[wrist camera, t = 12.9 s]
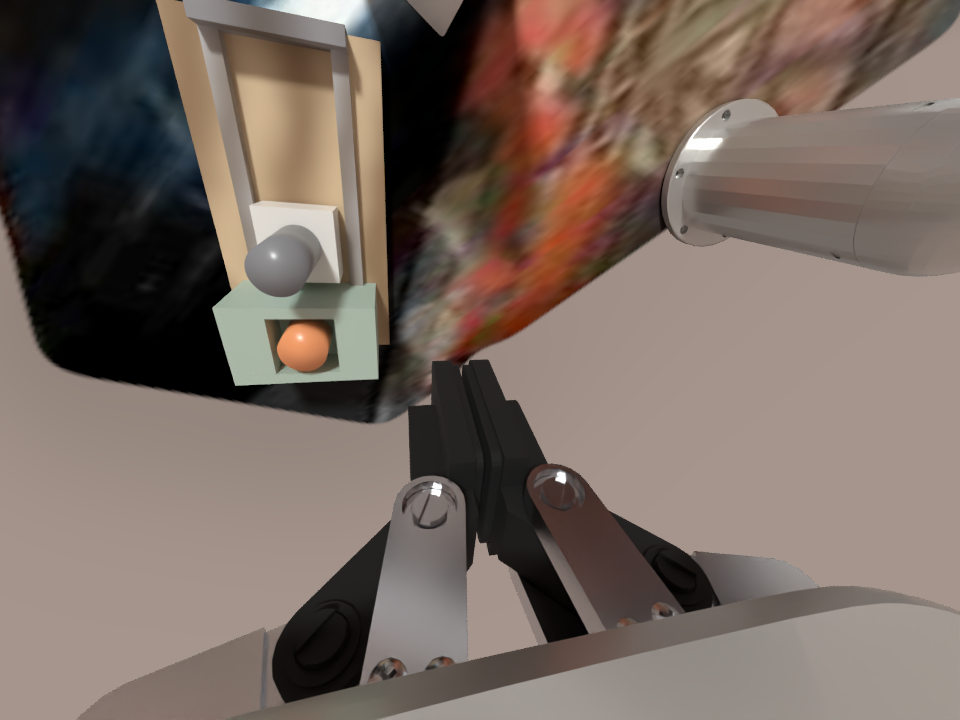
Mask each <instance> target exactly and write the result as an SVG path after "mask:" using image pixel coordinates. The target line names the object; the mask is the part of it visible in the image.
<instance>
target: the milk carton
mask: <svg viewBox="0 0 960 720" xmlns="http://www.w3.org/2000/svg"><path fill="white" fill-rule="evenodd" d="M407 1H408V3H409V4H410V5H411V6H412V7H413V8H414V9H415V10H416V11H417V12H418V13H419V14H420V15H421V16H422V17H423V18H424V19H425V20H426V21H427V22H428V23H429V24H430V26H431V27H432V28H433V29H434V30H435V31H436V32H437V33H438V34H439V35H441V36H444V35H445V33H446V31H447V29H448V28H449V26H450V24H451V22H452V20H453V18H454V16H455V15H456V13H457V11H458V9H459V7H460V5H461V3H462V2H463V0H407Z"/></svg>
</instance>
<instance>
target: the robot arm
mask: <svg viewBox="0 0 960 720" xmlns="http://www.w3.org/2000/svg"><path fill="white" fill-rule="evenodd" d="M661 205H662V215H663V218H664V221H665V225H666V226H667V228H668V230H669V232H670V233H671V234H672V235H673V236H674V237H675V238H676V239H677V240H679V241H681V242H683V243H686V244H690V245H693V246H709V245H714V244H717V243H719V242H722V241H724V240H726V239H728V238H729V237H733V238H738V239H742V240H746V241H750V242H755V243H759V244H763V245H768V246H772V247H776V248H781V249H785V250H790V251H794V252H798V253H803V254H807V255H811V256H816V257H821V258H825V259H829V260H833V261H838V262H842V263H847V264H851V265H856V266H860V267H864V268H868V269H873V270H876V271H881V272H885V273H890V274H896V275H902V276H938V275H945V274H951V273H957V272H960V98H954V99H944V100H935V101H925V102H915V103H905V104H895V105H887V106H876V107H867V108H857V109H847V110H837V111H827V112H817V113H807V114H797V115H788V116H778V115H777V113H776V111H775V110H774V109H773V108H772V107H771V106H770V105H769V104H767V103H765V102H763V101H761V100H758V99H741V100H735V101H731V102H728V103H725V104H722V105H720V106H718V107H717V108H715V109H713V110H712V111H710V112H708V113H707V114H706V115H705V116H704V117H702V118H701V119H700V120H699V121H698V122H697V123H696V124H695V125H694V126H693V127H692V128H691V129H690V131H689V132H688V133H687V134H686V135H685V137H684V138H683V140H682V141H681V143H680V144H679V146H678V147H677V149H676V151H675V153H674V155H673V157H672V159H671V161H670V164H669V166H668V169H667V172H666V175H665V179H664V183H663V188H662V199H661ZM431 400H432V401H431V402H432V403H431V405H422V406H408V415H409V448H410V478H411V482H409V483H408V484H406V485H405V486H404V487H403V488H402V489H401V491H400V492H399V493H398V495H397V498H396V500H395V503H394V507H393V512H392V518H391V520H390V521H389V522H388V523H387V524H386V525H385V526H384V527H383V528H382V529H381V530H380V531H379V532H378V533H377V534H376V535H375V536H374V537H373V538H372V539H371V540H370V541H369V542H368V543H367V544H366V545H365V546H364V547H363V548H362V549H361V550H360V551H359V552H358V553H357V554H356V555H354V556H353V557H352V558H351V559H350V560H349V561H348V562H347V563H346V564H345V565H344V566H343V567H342V568H341V569H340V570H339V571H338V572H337V573H336V574H335V575H334V576H333V577H332V578H331V579H330V580H329V581H328V582H327V583H326V584H325V585H324V586H323V587H322V588H321V589H320V590H319V591H318V592H317V593H316V594H315V595H314V596H313V597H311V599H309V601H307V602H306V604H304V605H303V607H301V608H300V609H299V610H298V611H297V612H296V613H295V615H294V616H293V617H292V618H291V620H290V621H289V622H288V623H287V624H284V625H282V626H279V627H277V628H275V629H272V630H270V631H267V632H266V630H265V628H261V629H258V630H256V631H253V632H251V633H249V634H246V635H244V636H241V637H239V638H236V639H234V640H231V641H229V642H227V643H224V644H222V645H219V646H217V647H214V648H212V649H209V650H207V651H204V652H202V653H199V654H197V655H194V656H192V657H190V658H187V659H185V660H182V661H180V662H177V663H175V664H173V665H170V666H167V667H165V668H163V669H160V670H158V671H155V672H153V673H150V674H148V675H145V676H143V677H140V678H138V679H135V680H133V681H130V682H128V683H126V684H124V685H122V686H120V687H119V688H117V689H115V690H113V691H112V692H109V693H108V694H106V695H104V696H103V697H101V698H100V699H99V700H98V701H97V702H96V703H94V704H93V705H92V706H91V707H90V708H88V709H87V710H86V711H85V712H84V713H83V714H81V715H80V716H79V718H78V719H77V720H960V611H957V610H955V609H952V608H950V607H947V606H944V605H941V604H938V603H935V602H931V601H928V600H925V599H921V598H918V597H913V596H909V595H905V594H901V593H896V592H893V591H886V590H881V589H875V588H868V587H858V586H829V587H819V586H818V585H817V584H816V583H815V582H814V581H813V580H812V579H811V578H810V577H809V576H807V575H806V574H805V573H803V572H802V571H801V570H800V569H798V568H796V567H795V566H793V565H791V564H789V563H787V562H785V561H781V560H776V559H773V558H762V557H752V556H741V555H730V554H720V553H709V552H698V551H694V552H693V554H692V555H691V556H690V555H688V554H687V553H685V552H684V551H682V550H681V549H679V548H677V547H676V546H674V545H672V544H670V543H669V542H667V541H665V540H663V539H661V538H659V537H657V536H655V535H653V534H652V533H650V532H648V531H646V530H644V529H642V528H640V527H639V526H637V525H635V524H633V523H631V522H629V521H627V520H625V519H623V518H622V517H619V516H618V515H616V514H614V513H612V512H610V511H609V510H608V509H607V508H606V507H605V505H604V504H603V503H602V501H601V500H600V499H599V497H598V496H597V495H596V493H595V492H594V491H593V489H592V488H591V487H590V485H589V484H588V483H587V482H586V480H585V479H584V478H583V477H581V475H580V474H578V473H577V472H575V471H574V470H572V469H571V468H568V467H566V466H563V465H558V464H548V463H547V461H546V459H545V457H544V455H543V453H542V451H541V449H540V447H539V445H538V443H537V440H536V438H535V436H534V434H533V432H532V430H531V428H530V426H529V424H528V422H527V420H526V417H525V415H524V413H523V411H522V409H521V407H520V405H519V403H518V402H517V401H516V400H508V401H506V400H505V397H504V395H503V392H502V390H501V388H500V385H499V383H498V381H497V378H496V376H495V374H494V372H493V369H492V367H491V365H490V362H489V360H470V361H469V365H463V367H462V377H461V373H460V370H459V366H458V365H452V362H451V361H432V397H431ZM476 532H477V534H478V539H479V542H480V543H487V548H488V552H489V555H496V554H497V555H498V559H499V560H500V561H502V562H503V563H504V564H506V565H508V566H509V572H510V576H511V579H512V582H513V584H514V586H515V589H516V591H517V594H518V596H519V598H520V601H521V604H522V606H523V608H524V611H525V613H526V616H527V618H528V621H529V623H530V625H531V627H532V630H533V633H534V635H535V638H536V640H537V642H538V646H534V647H529V648H524V649H521V650H516V651H511V652H506V653H502V654H497V655H493V656H489V657H484V658H480V659H475V660H471V661H468V637H467V636H468V634H467V633H468V631H467V577H466V575H467V571H468V569H469V568H470V566H471V565H472V563H473V556H474V547H475V540H476Z"/></svg>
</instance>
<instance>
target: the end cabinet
mask: <svg viewBox="0 0 960 720" xmlns="http://www.w3.org/2000/svg"><path fill="white" fill-rule="evenodd" d="M213 312H214V315H215V318H216V322H217V325H218V329H219V332H220V335H221V339H222V342H223V345H224V349H225V352H226V356H227V359H228V362H229V366H230V369H231V372H232V376H233V379H234V382H235V385H257V384H279V383H300V382H322V381H344V380H366V379H378V365H379V340H378V320H377V299H376V283H363V286H351V285H350V283H348V282H340V283H308V282H306V283H305V284H304V286H303V288H302V289H301V290H300V291H299V292H298V293H296V294H294V295H292V296H289V297H274V296H270V295H267V294H265V293H263V292H261V291H260V290H258V289H257V288H256V287H255V286H254V285H253V284H252V283H251V282H250V280H243V281H242V282H241V283H240V284H239V285H237V286H236V287H235V288H234V289H233V290H232V291H231V292H230V293H229V294H227V295H226V296H225V297H224V298H223V299H222V300H221V301H220V302H218V303H217V304H216V305H215V306H214V307H213ZM293 319H323V320H324V321H325V322H327V324H328V325H329V326H330V328H331V331H332V340H331V344H330V347H329V351H328V355H327V358H326V361H325V362H324V364H323V365H322V366H320V367H319V368H317V369H315V370H312V371H298V370H294V369H292V368H290V367H288V366H286V365H285V364H284V363H283V362H282V361H281V359H280V358H279V356H278V353H277V346H278V343H279V341H280V339H281V337H282V336H283V334H284V332H285V330H286V328H287V326H288V325H289V323H290V322H291V320H293Z"/></svg>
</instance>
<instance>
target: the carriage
mask: <svg viewBox="0 0 960 720" xmlns="http://www.w3.org/2000/svg"><path fill="white" fill-rule="evenodd" d="M249 207H250V212H251V217H252V222H253V227H254V231H255V236H256V241H257V245H256V246H255V247H254V248H252V249H251V250H250V251H249V252H248V254H247V256H246V258H245V263H244V267H245V272H246V275H247V277H248V279H249V280H250V282H251V283H252V284H253V285H254V286H255V287H256V288H257V289H258V290H260V291H261V292H263V293H265V294H267V295H270V296H274V297H289V296H292V295H294V294H296V293H298V292H299V291H300V290H301V289H302V288H303V286H304V284H305V283H306V282H308V283H340V281H341V278H342V275H343V261H342V250H341V240H340V229H339V218H338V208H337V206H327V205H314V204H301V203H288V202H276V201H263V200H262V201H260V202H257V203H254V204H252V205H249Z"/></svg>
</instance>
